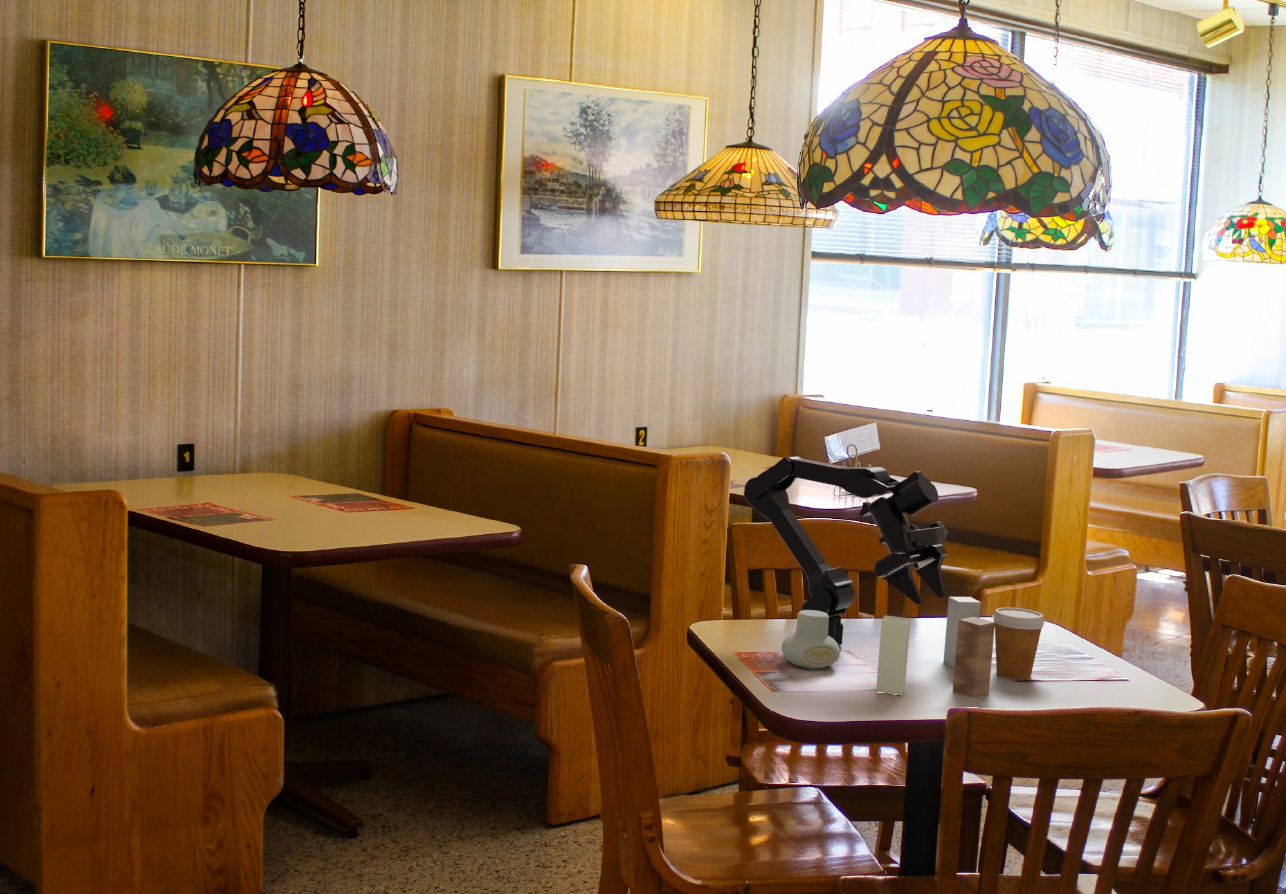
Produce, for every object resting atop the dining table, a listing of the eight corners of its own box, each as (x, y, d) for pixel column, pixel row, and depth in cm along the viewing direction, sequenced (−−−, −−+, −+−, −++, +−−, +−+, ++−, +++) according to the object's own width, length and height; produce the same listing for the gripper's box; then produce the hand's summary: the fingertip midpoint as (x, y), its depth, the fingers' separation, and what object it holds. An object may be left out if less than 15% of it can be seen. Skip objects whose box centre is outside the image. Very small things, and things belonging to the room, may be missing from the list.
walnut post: (952, 690, 227) (958, 619, 226) (967, 687, 230) (973, 616, 229) (973, 697, 224) (979, 625, 223) (988, 693, 227) (995, 622, 225)
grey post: (953, 668, 242) (959, 602, 241) (943, 662, 247) (948, 596, 245) (975, 668, 243) (981, 602, 242) (964, 662, 248) (970, 596, 246)
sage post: (875, 692, 223) (881, 620, 222) (879, 686, 227) (885, 615, 226) (901, 696, 222) (907, 623, 220) (904, 689, 226) (910, 618, 225)
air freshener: (826, 658, 244) (830, 607, 243) (845, 670, 237) (849, 618, 236) (774, 660, 241) (777, 608, 240) (791, 672, 233) (795, 619, 232)
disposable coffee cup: (1040, 672, 243) (1045, 611, 242) (1038, 684, 234) (1044, 621, 233) (989, 665, 246) (994, 604, 245) (985, 677, 237) (991, 614, 236)
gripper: (902, 511, 231) (942, 588, 226) (949, 503, 245) (987, 576, 241) (856, 538, 237) (894, 614, 233) (904, 529, 252) (941, 600, 247)
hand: (931, 600), depth 238 cm, fingers open, 9 cm apart
